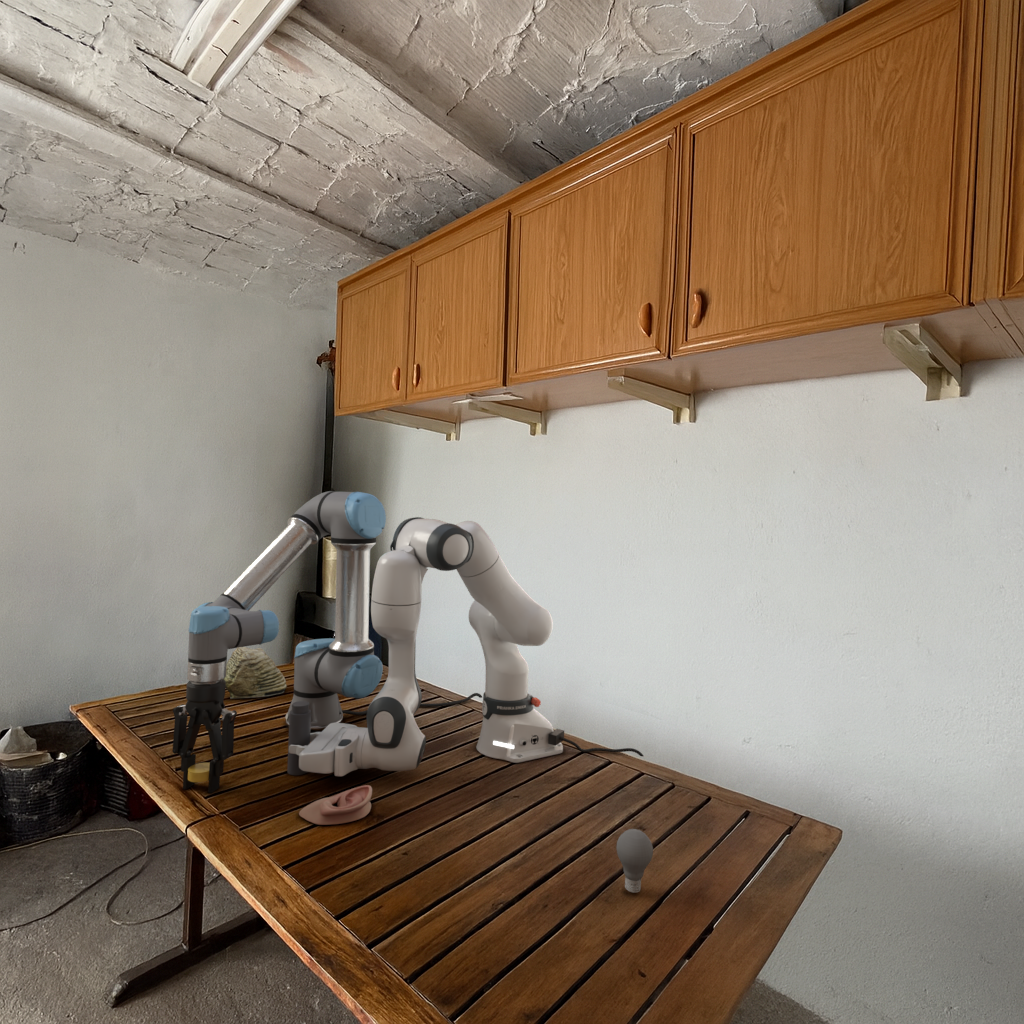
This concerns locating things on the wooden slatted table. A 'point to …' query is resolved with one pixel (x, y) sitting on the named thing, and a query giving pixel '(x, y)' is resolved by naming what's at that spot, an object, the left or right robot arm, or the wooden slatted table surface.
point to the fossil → (253, 674)
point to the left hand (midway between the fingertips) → (201, 788)
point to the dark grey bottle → (298, 733)
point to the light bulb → (634, 857)
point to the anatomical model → (339, 807)
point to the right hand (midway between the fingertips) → (295, 743)
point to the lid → (198, 772)
